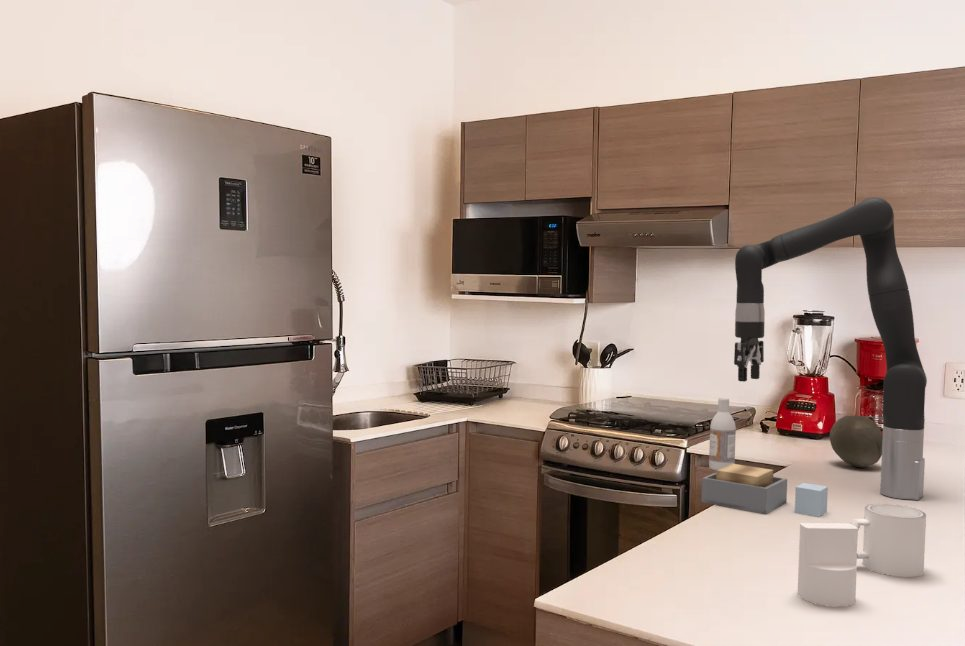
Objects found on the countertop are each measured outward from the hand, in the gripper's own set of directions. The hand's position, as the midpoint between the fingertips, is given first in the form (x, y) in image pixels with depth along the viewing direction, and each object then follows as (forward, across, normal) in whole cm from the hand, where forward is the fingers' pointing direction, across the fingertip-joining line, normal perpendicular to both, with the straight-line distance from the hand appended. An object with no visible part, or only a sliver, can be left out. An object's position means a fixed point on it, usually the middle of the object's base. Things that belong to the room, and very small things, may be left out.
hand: (748, 380), depth 229 cm
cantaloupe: (+27, +36, -18) cm, 48 cm away
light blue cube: (+27, -24, -25) cm, 44 cm away
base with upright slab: (+27, -77, -45) cm, 93 cm away
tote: (+26, -27, -10) cm, 39 cm away
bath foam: (+26, +5, +10) cm, 29 cm away
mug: (+27, -54, -49) cm, 78 cm away
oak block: (+26, -27, -10) cm, 38 cm away
